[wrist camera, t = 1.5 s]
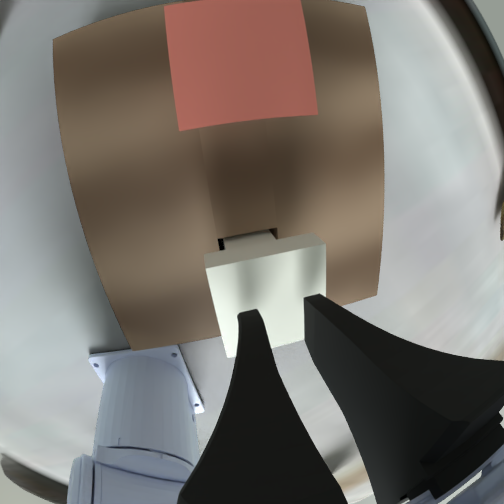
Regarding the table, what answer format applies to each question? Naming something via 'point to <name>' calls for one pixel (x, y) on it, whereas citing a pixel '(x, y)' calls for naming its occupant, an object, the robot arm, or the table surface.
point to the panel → (215, 169)
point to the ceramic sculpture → (502, 223)
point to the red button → (239, 61)
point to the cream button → (266, 283)
